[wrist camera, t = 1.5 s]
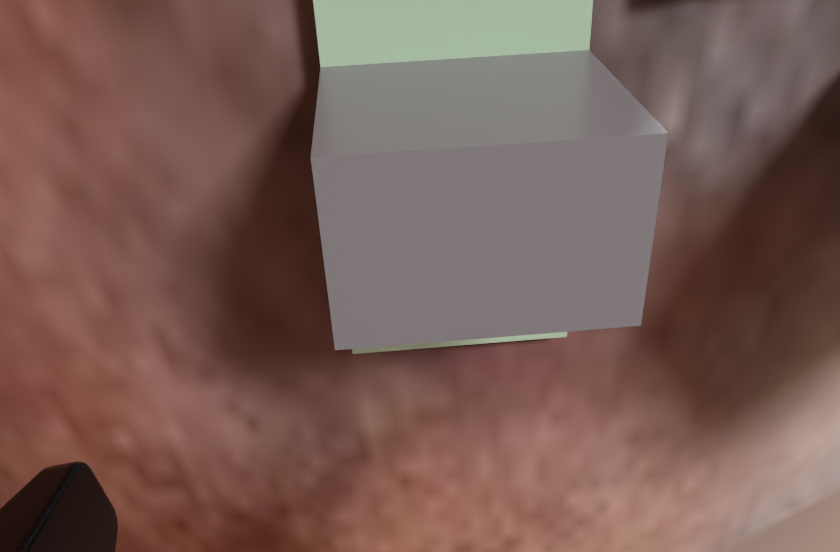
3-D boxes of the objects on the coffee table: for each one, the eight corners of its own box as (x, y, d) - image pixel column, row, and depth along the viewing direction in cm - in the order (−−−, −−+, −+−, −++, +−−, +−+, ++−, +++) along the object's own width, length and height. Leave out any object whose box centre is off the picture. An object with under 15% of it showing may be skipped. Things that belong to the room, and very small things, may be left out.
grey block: (558, 316, 22) (620, 470, 17) (352, 332, 22) (352, 493, 17) (591, -158, 16) (706, -137, 11) (300, -143, 15) (276, -115, 10)
